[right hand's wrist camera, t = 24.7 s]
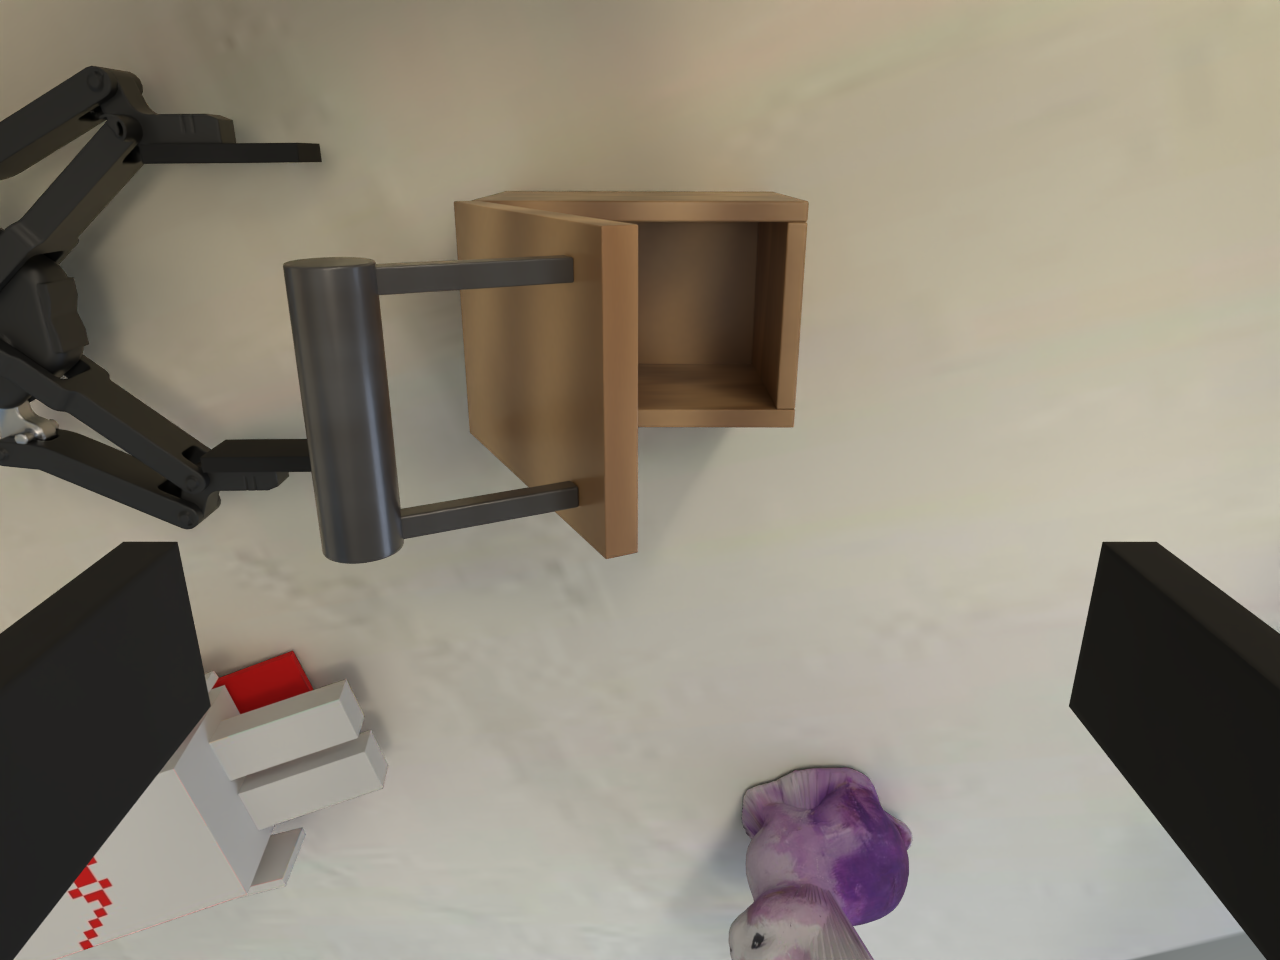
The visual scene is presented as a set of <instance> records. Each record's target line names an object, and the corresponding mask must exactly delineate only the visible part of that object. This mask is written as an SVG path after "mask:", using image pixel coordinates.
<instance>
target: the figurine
mask: <svg viewBox="0 0 1280 960" xmlns="http://www.w3.org/2000/svg"><path fill="white" fill-rule="evenodd" d="M743 803H744V804H743V808H742V809H743V811H742V813H743V814H742V823H743V824H744V825H743V827H744V828H745V829H746V834H747V835H748V836H749V837H750V838H751V839H752V841H751V843H750V844H749V846H748V850H747V854H746V875H747V879H748V883H749V886H750V890H751V893H752V895H753V899H754V902H753V904H752V905H751V906H749V907H748V908H747V909H746V910H745V911H744V912H743V913H742V914H740V915H739V916H738V917H737V918H736V919H735V921H734V922H733V923H732V925H731V927H730V930H729V946H730V955H731V958H732V960H874V959H873V958H872V956H871V954H870V953H869V951H868V950H867V948H866V946H865V945H864V943H863V942H862V940H861V938H860V937H859V935H858V934H857V932H856V930H855V929H854V927H853V926H856V925H861V924H865V923H869V922H872V921H875V920H877V919H880V918H882V917H884V916H886V915H887V914H889V913H890V912H891V911H893V910H894V909H895V908H896V906H897V905H898V904H899V902H900V901H901V899H902V897H903V895H904V892H905V889H906V886H907V881H908V876H909V859H908V854H907V850H908V849H909V848H910V846H911V843H912V833H911V831H910V829H909V828H908V826H907V825H906V824H905V823H903V822H902V821H900V820H898V819H896V818H894V817H893V816H891V815H890V814H888V813H887V812H885V811H884V810H883V809H882V807H881V805H880V802H879V799H878V796H877V793H876V790H875V788H874V786H873V784H872V782H871V781H870V779H869V778H868V777H867V776H866V775H864V774H863V773H860V772H858V771H856V770H854V769H851V768H847V767H844V768H811V769H804V770H794V771H793V772H791V773H789V774H787V775H785V776H783V777H781V778H779V779H778V780H777V781H772V782H770V783H764V784H763V785H757V786H755V787H753V788H751V789H748V790H747V792H746V794H745V795H744V799H743Z"/></svg>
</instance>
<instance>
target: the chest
mask: <svg viewBox="0 0 1280 960" xmlns="http://www.w3.org/2000/svg"><path fill="white" fill-rule="evenodd" d="M472 201H483V202H490V203H497V204H503V205H510V206H517V207H524V208H530V209H537V210H544V211H550V212H557V213H564V214H571V215H577V216H584V217H591V218H597V219H604V220H611V221H617V222H624V223H631V224H637V225H638V427H794V417H795V410H794V408H795V400H796V385H797V370H798V355H799V340H800V325H801V310H802V295H803V280H804V265H805V250H806V235H807V223H806V221H807V220H808V205H809V203H808V202H807V201H804V200H801V199H797V198H793V197H789V196H786V195H782V194H778V193H775V192H629V191H505V192H502V193H498V194H494V195H491V196H487V197H483V198H479V199H475V200H472Z"/></svg>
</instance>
